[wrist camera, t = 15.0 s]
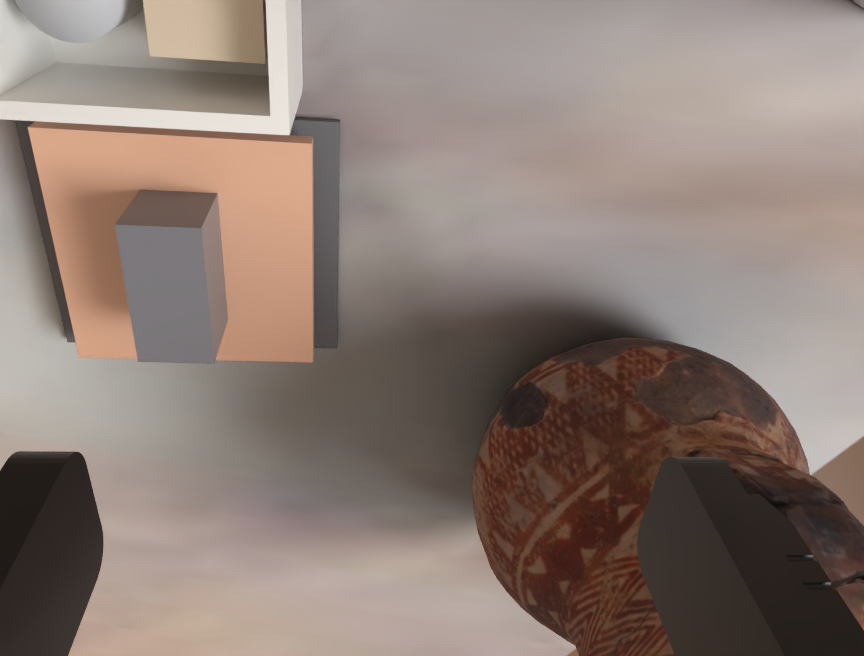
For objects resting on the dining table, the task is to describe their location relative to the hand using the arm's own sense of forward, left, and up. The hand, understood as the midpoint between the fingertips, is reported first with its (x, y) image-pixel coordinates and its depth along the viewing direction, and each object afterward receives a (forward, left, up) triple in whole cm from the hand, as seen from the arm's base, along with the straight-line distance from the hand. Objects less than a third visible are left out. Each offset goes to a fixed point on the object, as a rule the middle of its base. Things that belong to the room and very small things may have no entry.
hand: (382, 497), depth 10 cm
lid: (+10, +11, -32) cm, 35 cm away
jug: (-18, +25, -32) cm, 45 cm away
